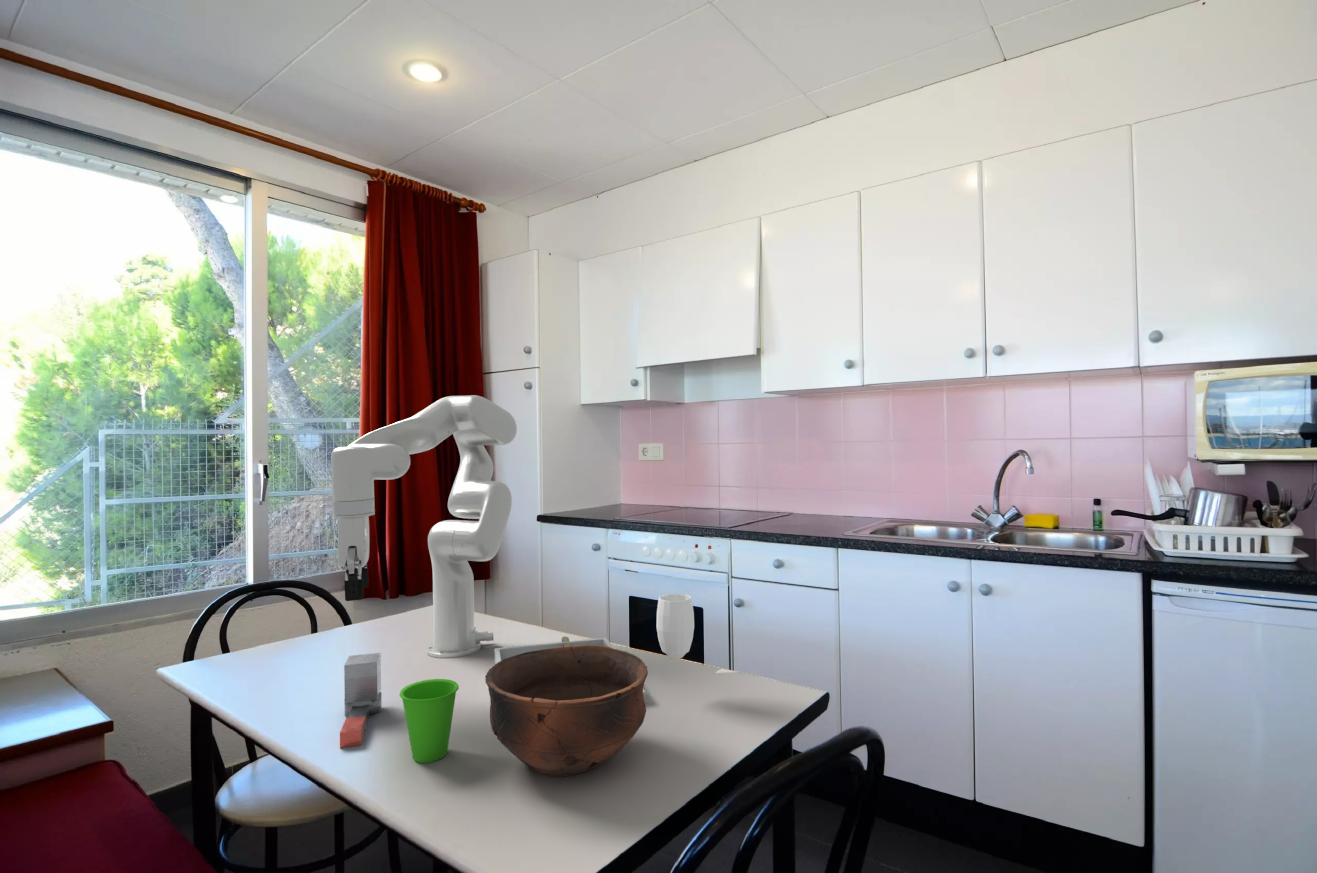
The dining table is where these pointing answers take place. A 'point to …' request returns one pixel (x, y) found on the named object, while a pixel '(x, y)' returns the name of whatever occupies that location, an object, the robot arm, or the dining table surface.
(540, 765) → the bowl
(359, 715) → the ratchet
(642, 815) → the dining table surface
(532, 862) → the dining table surface
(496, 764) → the dining table surface
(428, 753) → the cup
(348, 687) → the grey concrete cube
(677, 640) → the cup
